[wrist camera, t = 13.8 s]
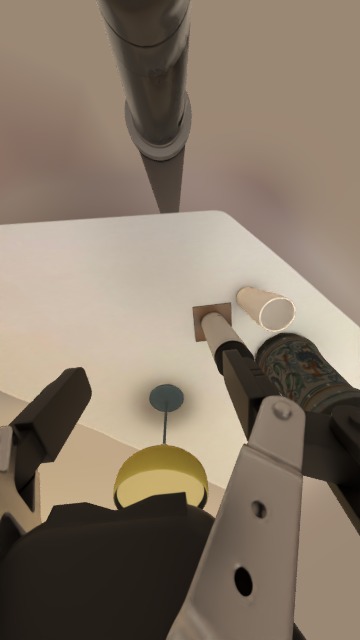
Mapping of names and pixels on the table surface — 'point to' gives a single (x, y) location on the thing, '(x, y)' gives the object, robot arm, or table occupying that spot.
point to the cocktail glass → (161, 464)
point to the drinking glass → (267, 308)
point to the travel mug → (222, 338)
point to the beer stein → (304, 374)
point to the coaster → (203, 310)
